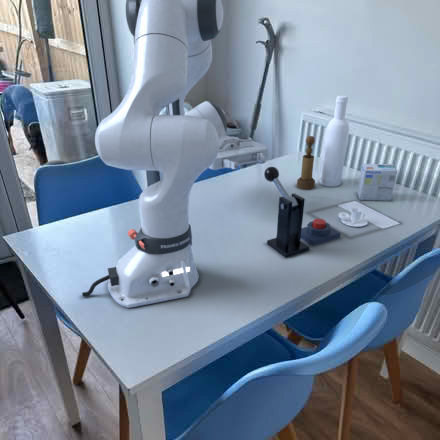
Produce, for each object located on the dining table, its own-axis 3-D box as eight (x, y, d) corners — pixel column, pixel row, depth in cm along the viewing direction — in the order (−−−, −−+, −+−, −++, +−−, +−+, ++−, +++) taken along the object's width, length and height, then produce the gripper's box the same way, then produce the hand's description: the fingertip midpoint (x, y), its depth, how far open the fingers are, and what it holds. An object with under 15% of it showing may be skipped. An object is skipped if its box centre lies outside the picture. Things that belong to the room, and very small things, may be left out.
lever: (259, 175, 118) (264, 164, 114) (271, 172, 119) (276, 162, 116) (285, 214, 112) (290, 204, 109) (297, 211, 114) (303, 201, 111)
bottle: (339, 187, 155) (353, 99, 138) (318, 185, 157) (329, 98, 140) (341, 180, 161) (355, 94, 144) (320, 178, 163) (331, 93, 146)
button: (317, 230, 121) (318, 225, 120) (309, 225, 123) (310, 220, 122) (327, 227, 122) (328, 222, 121) (319, 223, 125) (320, 217, 124)
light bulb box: (387, 193, 150) (394, 163, 144) (391, 201, 144) (398, 170, 138) (356, 192, 151) (361, 162, 145) (359, 200, 145) (365, 169, 139)
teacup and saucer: (334, 219, 134) (335, 207, 131) (353, 213, 137) (355, 202, 134) (353, 230, 127) (355, 217, 125) (373, 224, 130) (375, 212, 128)
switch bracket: (266, 244, 121) (269, 195, 113) (289, 237, 124) (293, 189, 116) (285, 258, 115) (289, 207, 106) (309, 250, 118) (315, 200, 109)
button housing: (312, 246, 120) (314, 235, 118) (295, 234, 126) (296, 224, 124) (339, 237, 124) (341, 227, 122) (321, 227, 129) (323, 216, 127)
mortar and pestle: (293, 184, 158) (298, 134, 148) (309, 182, 160) (314, 132, 150) (301, 190, 153) (306, 139, 143) (317, 188, 155) (324, 137, 144)
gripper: (196, 146, 128) (218, 158, 118) (254, 136, 136) (279, 147, 126) (197, 166, 132) (219, 180, 122) (253, 156, 139) (277, 168, 129)
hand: (250, 163), depth 124 cm, fingers open, 8 cm apart
